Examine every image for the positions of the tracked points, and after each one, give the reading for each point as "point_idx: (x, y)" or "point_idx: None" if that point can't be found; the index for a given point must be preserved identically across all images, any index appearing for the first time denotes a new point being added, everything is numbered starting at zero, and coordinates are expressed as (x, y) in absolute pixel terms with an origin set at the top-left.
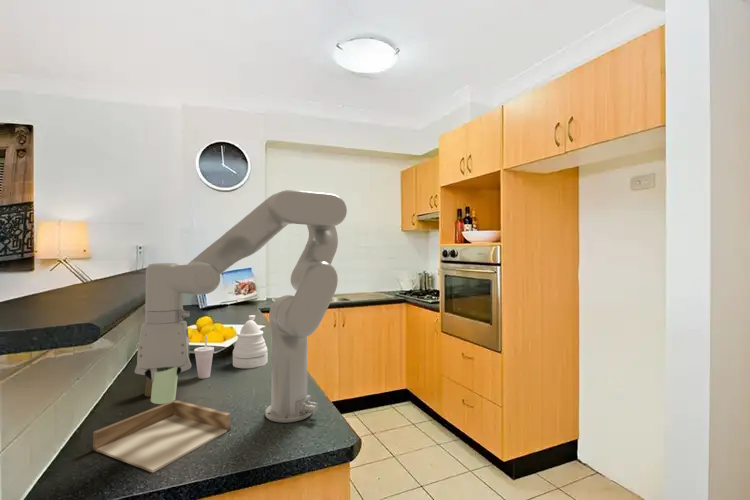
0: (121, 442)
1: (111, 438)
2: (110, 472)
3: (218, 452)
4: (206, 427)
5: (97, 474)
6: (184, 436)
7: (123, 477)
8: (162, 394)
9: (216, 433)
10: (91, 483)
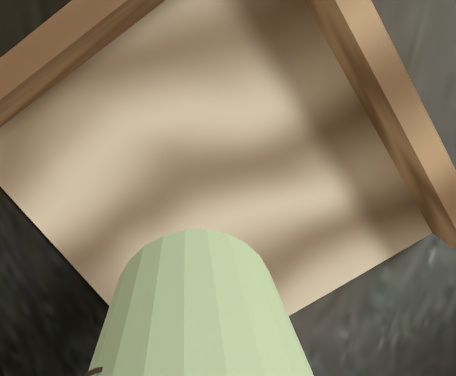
0: (52, 141)
1: (2, 118)
2: (62, 320)
3: (359, 351)
4: (372, 171)
5: (27, 314)
6: (281, 209)
7: None
8: None
9: (390, 245)
10: (24, 352)
